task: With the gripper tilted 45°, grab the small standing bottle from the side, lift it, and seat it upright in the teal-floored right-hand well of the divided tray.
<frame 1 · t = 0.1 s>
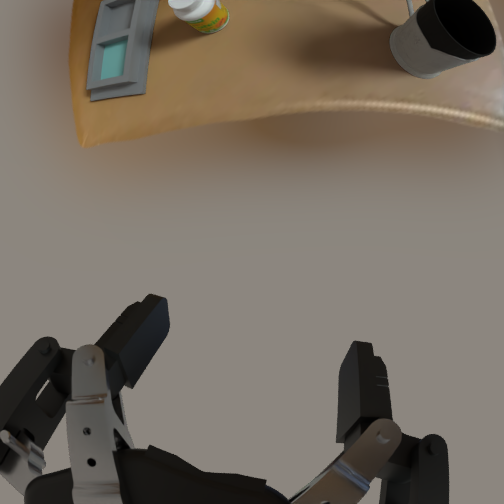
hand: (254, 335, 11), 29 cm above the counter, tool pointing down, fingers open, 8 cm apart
divided tray: (123, 39, 30), on the counter
supplement bottle: (212, 19, 27), on the counter
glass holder: (410, 34, 22), on the counter
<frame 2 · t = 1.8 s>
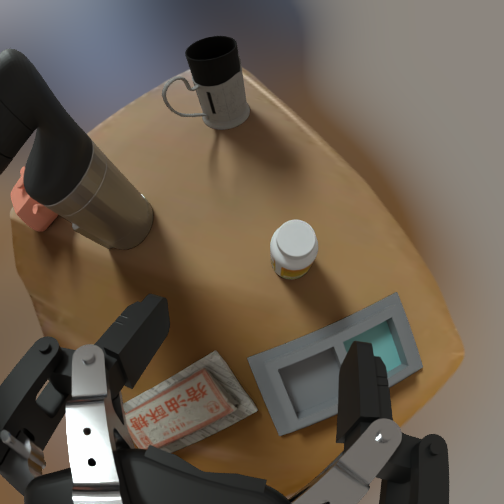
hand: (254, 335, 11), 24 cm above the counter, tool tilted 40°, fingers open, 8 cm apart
divided tray: (341, 366, 32), on the counter
supplement bottle: (290, 260, 37), on the counter
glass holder: (215, 121, 44), on the counter
packaged product: (186, 408, 33), on the counter
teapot: (54, 205, 43), on the counter
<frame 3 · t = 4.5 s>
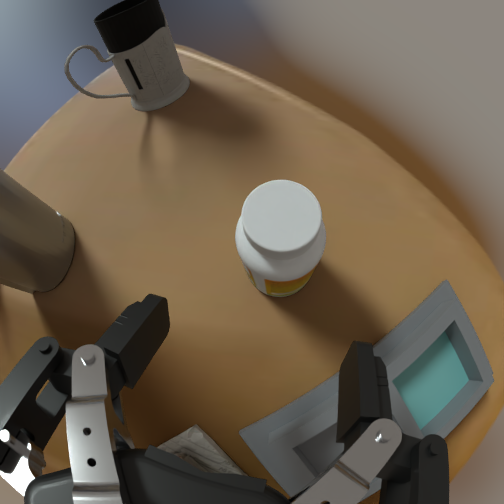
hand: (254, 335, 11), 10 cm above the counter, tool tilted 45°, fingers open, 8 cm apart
divided tray: (389, 410, 18), on the counter
supplement bottle: (279, 265, 22), on the counter
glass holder: (147, 103, 31), on the counter
packaged product: (167, 495, 17), on the counter
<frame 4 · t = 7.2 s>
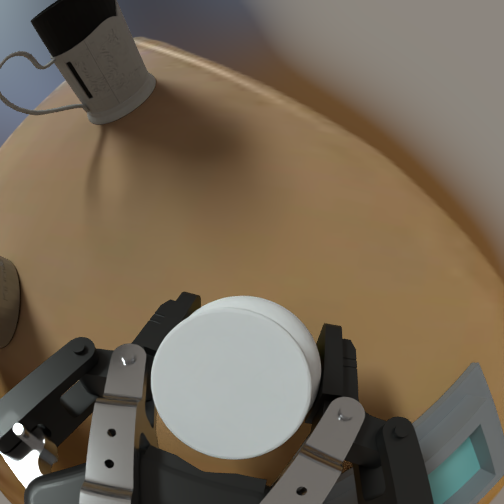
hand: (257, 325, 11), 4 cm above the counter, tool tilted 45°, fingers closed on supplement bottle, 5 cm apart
supplement bottle: (256, 358, 15), on the counter, touching gripper
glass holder: (104, 114, 23), on the counter
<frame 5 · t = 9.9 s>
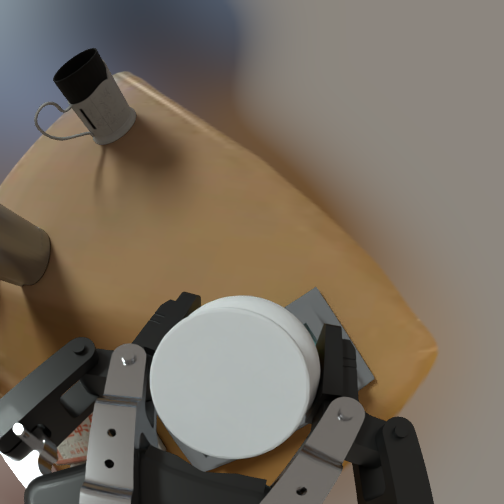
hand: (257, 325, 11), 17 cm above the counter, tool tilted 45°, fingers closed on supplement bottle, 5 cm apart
divided tray: (256, 391, 25), on the counter
supplement bottle: (255, 358, 15), point 12 cm above the counter, touching gripper
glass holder: (103, 137, 38), on the counter
packaged product: (100, 431, 25), on the counter
when the fingers open (6 cm above the counter, at t = 13.0 s): supplement bottle drops 1 cm, resting on divided tray.
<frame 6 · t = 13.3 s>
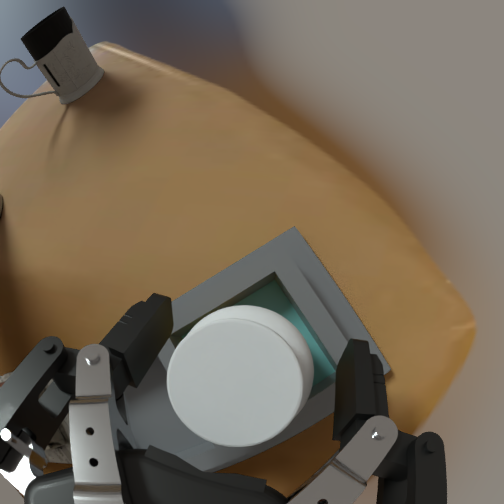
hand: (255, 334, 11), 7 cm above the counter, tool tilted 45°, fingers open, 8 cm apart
divided tray: (204, 385, 17), on the counter
supplement bottle: (256, 359, 16), point 1 cm above the counter, touching divided tray
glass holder: (70, 97, 30), on the counter
packaged product: (29, 416, 16), on the counter
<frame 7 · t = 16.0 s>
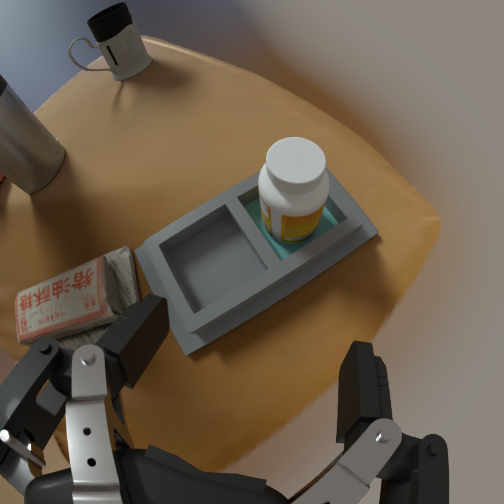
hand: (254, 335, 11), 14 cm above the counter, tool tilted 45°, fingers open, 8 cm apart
divided tray: (254, 243, 27), on the counter
supplement bottle: (290, 220, 26), point 1 cm above the counter, touching divided tray
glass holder: (122, 76, 40), on the counter
packaged product: (80, 311, 27), on the counter
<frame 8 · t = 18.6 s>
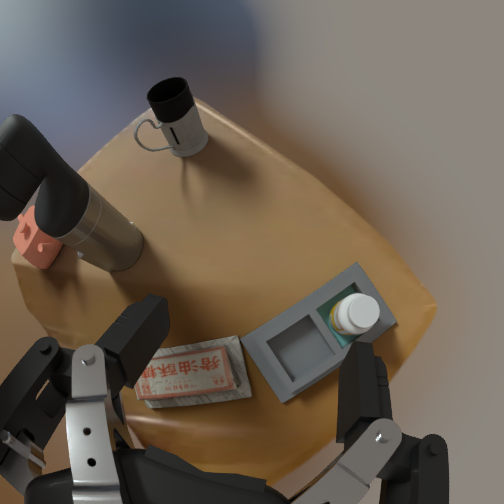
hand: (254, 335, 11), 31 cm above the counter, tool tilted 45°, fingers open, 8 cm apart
divided tray: (322, 332, 39), on the counter
supplement bottle: (344, 317, 39), point 1 cm above the counter, touching divided tray
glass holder: (180, 150, 53), on the counter
packaged product: (191, 374, 40), on the counter
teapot: (53, 245, 49), on the counter
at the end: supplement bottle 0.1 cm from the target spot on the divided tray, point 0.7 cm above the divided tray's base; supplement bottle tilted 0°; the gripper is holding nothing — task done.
